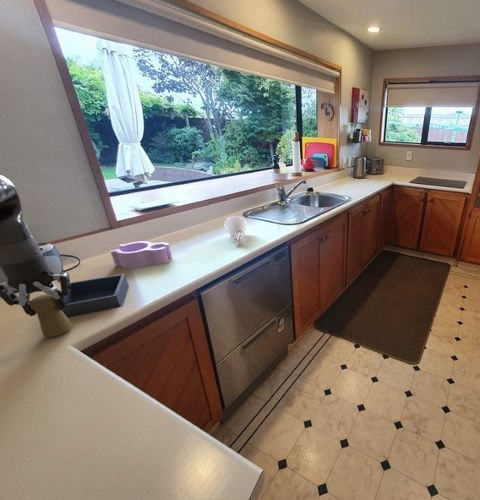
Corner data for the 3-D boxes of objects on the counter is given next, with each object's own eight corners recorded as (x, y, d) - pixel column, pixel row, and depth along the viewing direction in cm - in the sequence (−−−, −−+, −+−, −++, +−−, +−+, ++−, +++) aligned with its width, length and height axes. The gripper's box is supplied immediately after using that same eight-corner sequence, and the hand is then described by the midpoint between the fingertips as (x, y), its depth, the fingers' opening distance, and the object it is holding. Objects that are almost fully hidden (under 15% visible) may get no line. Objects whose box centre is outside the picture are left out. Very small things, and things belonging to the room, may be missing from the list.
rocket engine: (239, 229, 135) (235, 211, 148) (222, 244, 136) (219, 225, 149) (257, 242, 144) (251, 224, 156) (240, 256, 145) (236, 237, 157)
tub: (58, 322, 86) (51, 308, 84) (74, 296, 98) (68, 282, 96) (121, 309, 93) (116, 295, 90) (129, 286, 105) (124, 273, 103)
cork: (42, 340, 76) (23, 306, 71) (43, 328, 80) (26, 296, 75) (72, 330, 79) (56, 298, 75) (72, 319, 83) (57, 288, 79)
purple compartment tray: (175, 253, 131) (172, 240, 128) (165, 266, 120) (161, 251, 117) (127, 256, 127) (122, 242, 124) (111, 269, 116) (106, 254, 113)
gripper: (63, 245, 76) (86, 297, 83) (-14, 255, 69) (18, 310, 77) (53, 257, 70) (78, 312, 77) (-33, 268, 63) (4, 327, 71)
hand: (48, 311), depth 77 cm, fingers closed on cork, 5 cm apart
